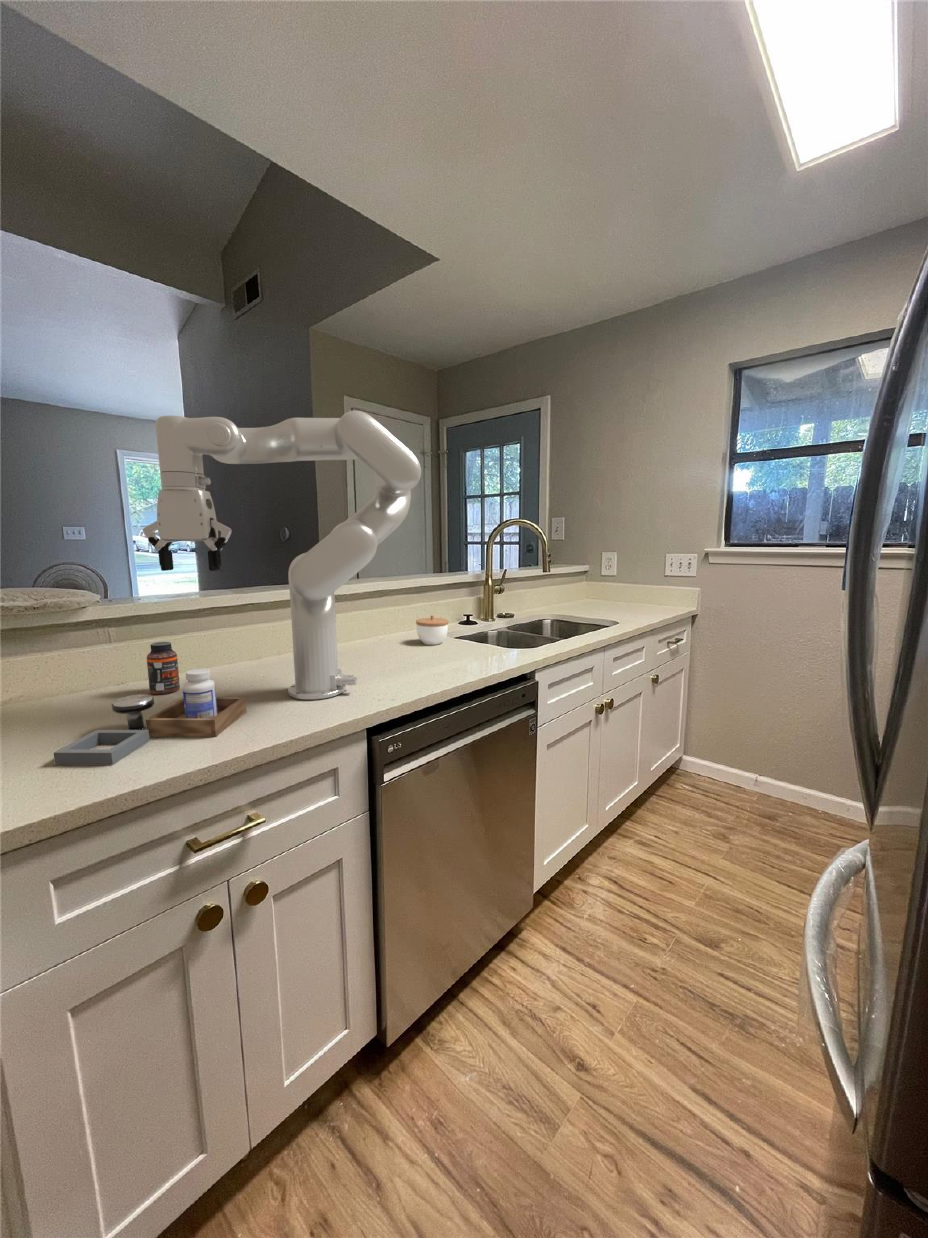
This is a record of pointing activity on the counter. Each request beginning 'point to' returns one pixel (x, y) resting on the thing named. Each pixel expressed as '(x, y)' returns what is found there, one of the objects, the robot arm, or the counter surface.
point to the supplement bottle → (162, 669)
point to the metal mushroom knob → (133, 709)
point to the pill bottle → (199, 694)
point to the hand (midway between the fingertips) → (191, 570)
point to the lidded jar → (432, 630)
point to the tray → (195, 719)
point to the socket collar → (85, 755)
